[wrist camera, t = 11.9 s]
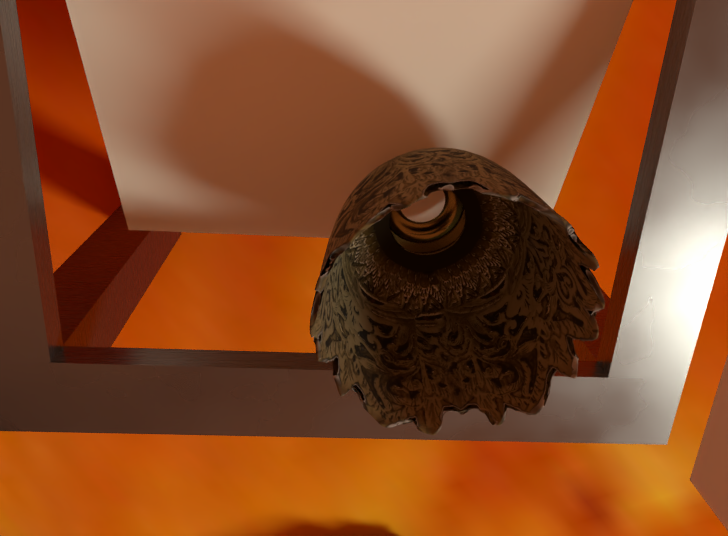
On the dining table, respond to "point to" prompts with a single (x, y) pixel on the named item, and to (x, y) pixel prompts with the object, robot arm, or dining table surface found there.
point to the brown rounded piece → (451, 293)
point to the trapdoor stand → (313, 378)
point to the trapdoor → (330, 99)
